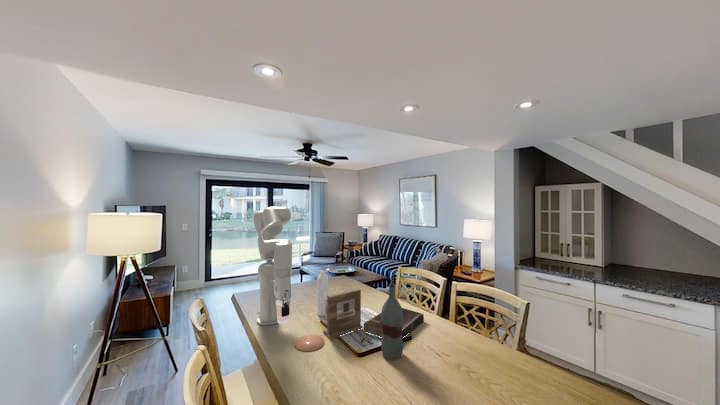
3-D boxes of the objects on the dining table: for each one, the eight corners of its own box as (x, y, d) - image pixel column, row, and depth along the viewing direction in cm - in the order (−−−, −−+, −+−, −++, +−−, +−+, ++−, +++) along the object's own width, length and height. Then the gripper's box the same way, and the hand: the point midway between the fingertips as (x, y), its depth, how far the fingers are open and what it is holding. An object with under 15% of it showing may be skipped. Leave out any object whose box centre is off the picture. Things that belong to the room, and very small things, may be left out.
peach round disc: (288, 345, 124) (288, 343, 124) (309, 333, 134) (309, 332, 134) (309, 354, 116) (309, 352, 116) (329, 341, 127) (329, 340, 127)
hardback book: (397, 345, 124) (397, 334, 124) (363, 333, 135) (363, 323, 135) (423, 322, 147) (423, 313, 147) (393, 313, 158) (393, 305, 158)
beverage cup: (284, 316, 123) (284, 285, 122) (293, 321, 119) (293, 289, 118) (272, 321, 118) (272, 289, 118) (281, 326, 114) (281, 293, 114)
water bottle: (323, 317, 152) (323, 272, 152) (314, 314, 156) (314, 270, 156) (333, 312, 159) (333, 269, 159) (325, 309, 163) (325, 267, 163)
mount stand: (321, 331, 136) (321, 292, 136) (352, 322, 146) (352, 285, 146) (330, 339, 128) (330, 298, 128) (362, 329, 139) (362, 290, 138)
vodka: (387, 363, 110) (387, 288, 110) (377, 351, 118) (377, 282, 118) (407, 357, 114) (407, 285, 113) (396, 346, 122) (396, 279, 122)
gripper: (268, 267, 123) (269, 307, 124) (280, 278, 108) (280, 323, 109) (285, 265, 127) (285, 303, 128) (298, 275, 112) (298, 318, 113)
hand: (283, 312), depth 118 cm, fingers closed on beverage cup, 6 cm apart
